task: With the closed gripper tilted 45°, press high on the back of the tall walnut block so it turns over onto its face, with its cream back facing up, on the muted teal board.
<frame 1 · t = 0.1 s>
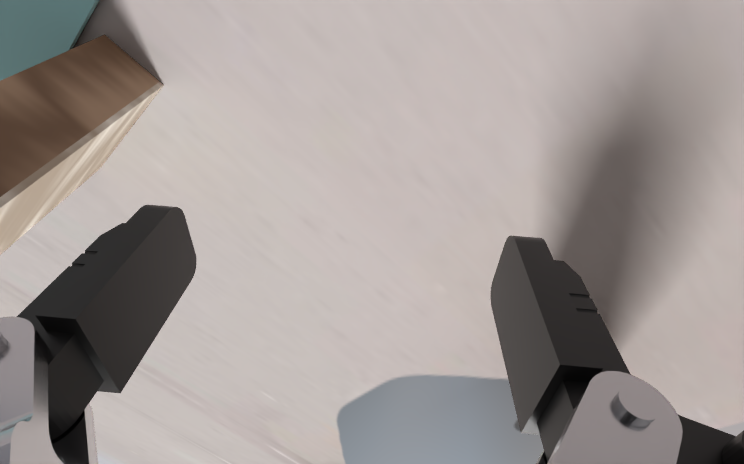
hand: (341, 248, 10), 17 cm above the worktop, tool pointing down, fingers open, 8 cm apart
block: (101, 109, 27), on the worktop
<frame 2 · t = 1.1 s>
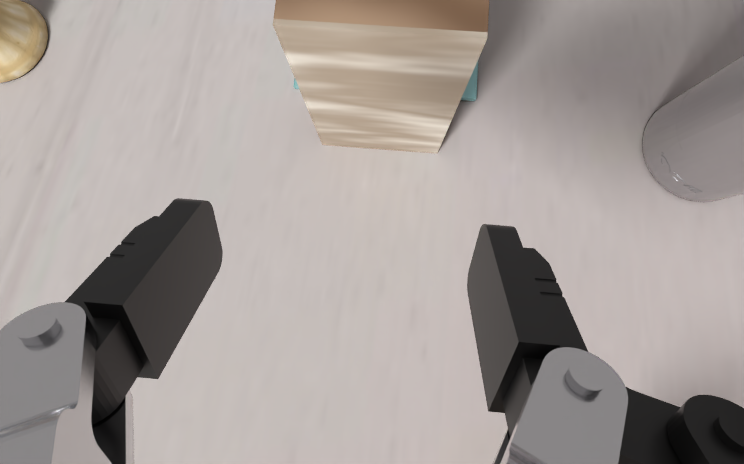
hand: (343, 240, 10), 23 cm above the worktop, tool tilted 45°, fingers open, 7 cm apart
hand bell: (6, 42, 36), on the worktop
block: (381, 127, 34), on the worktop
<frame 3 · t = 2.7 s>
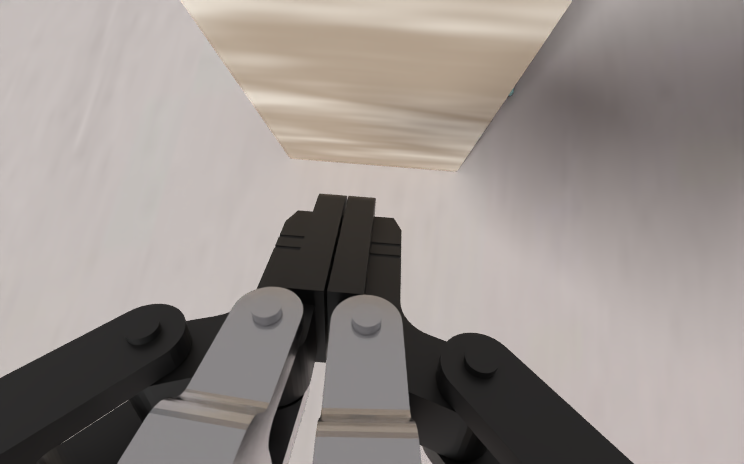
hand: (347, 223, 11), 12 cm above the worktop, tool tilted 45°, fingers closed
block: (375, 133, 24), on the worktop
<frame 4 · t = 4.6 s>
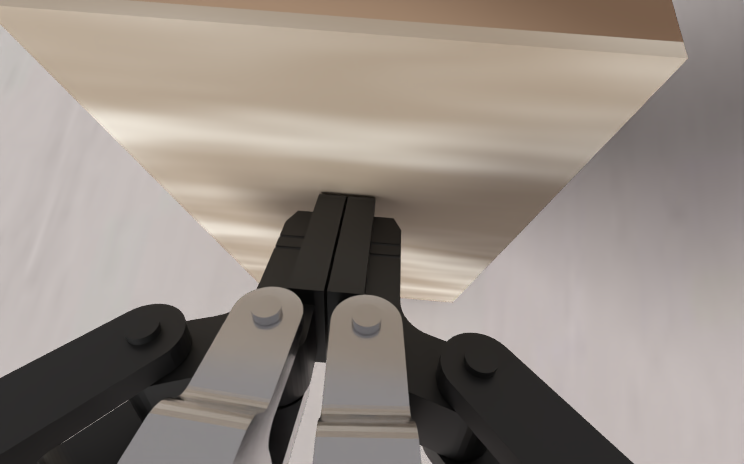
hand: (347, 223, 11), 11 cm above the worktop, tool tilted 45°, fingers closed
block: (359, 257, 21), on the worktop, tilted 14°
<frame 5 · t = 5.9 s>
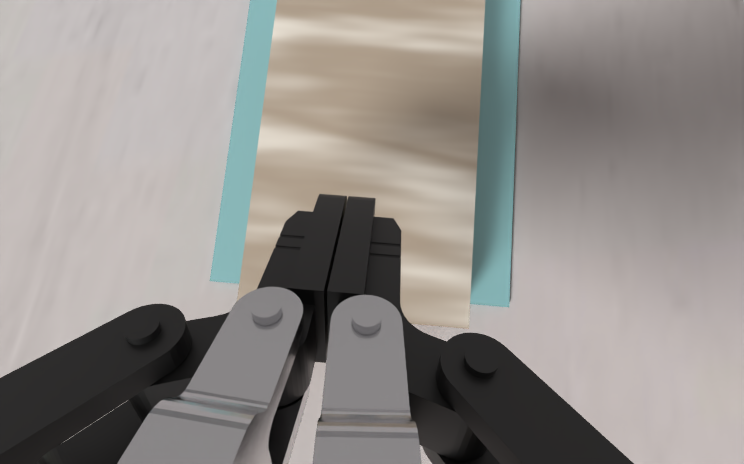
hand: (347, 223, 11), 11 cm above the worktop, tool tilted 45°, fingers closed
mat: (375, 103, 23), on the worktop
block: (354, 315, 19), point 2 cm above the worktop, tilted 90°, touching mat
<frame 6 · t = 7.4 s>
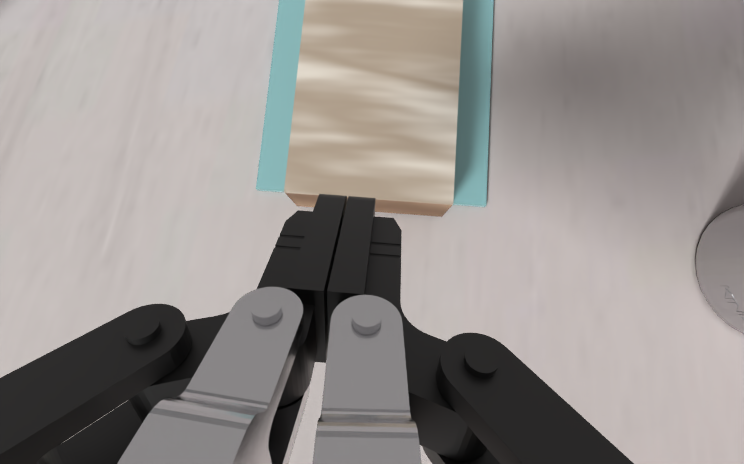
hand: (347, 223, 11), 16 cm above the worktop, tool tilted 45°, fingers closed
mat: (381, 54, 29), on the worktop
block: (368, 205, 25), point 2 cm above the worktop, tilted 90°, touching mat
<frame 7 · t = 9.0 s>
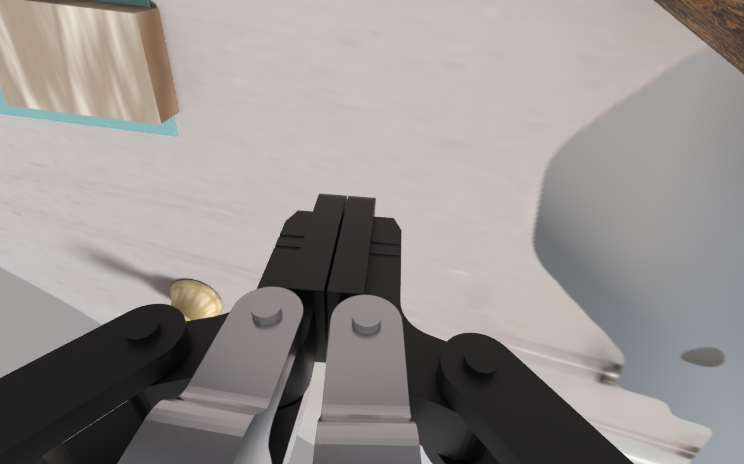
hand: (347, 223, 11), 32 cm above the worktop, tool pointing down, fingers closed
hand bell: (197, 297, 62), on the worktop
mat: (59, 48, 41), on the worktop
block: (158, 68, 39), point 2 cm above the worktop, tilted 90°, touching mat
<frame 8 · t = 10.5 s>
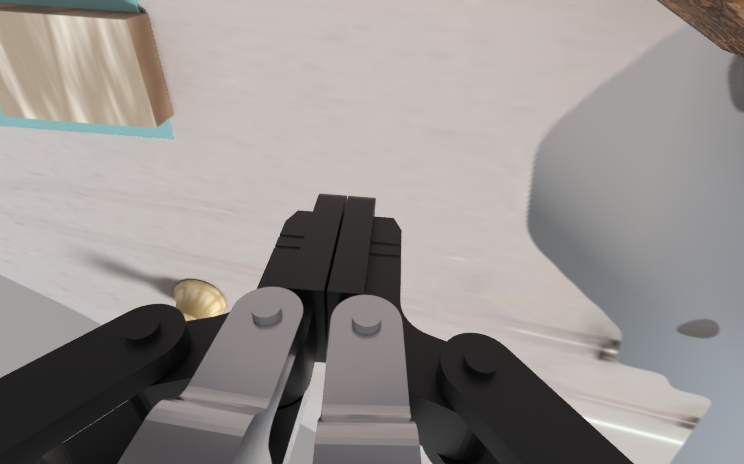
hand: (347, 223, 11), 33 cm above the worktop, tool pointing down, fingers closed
hand bell: (201, 297, 63), on the worktop
mat: (52, 58, 41), on the worktop
block: (151, 72, 39), point 2 cm above the worktop, tilted 90°, touching mat
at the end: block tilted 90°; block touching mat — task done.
